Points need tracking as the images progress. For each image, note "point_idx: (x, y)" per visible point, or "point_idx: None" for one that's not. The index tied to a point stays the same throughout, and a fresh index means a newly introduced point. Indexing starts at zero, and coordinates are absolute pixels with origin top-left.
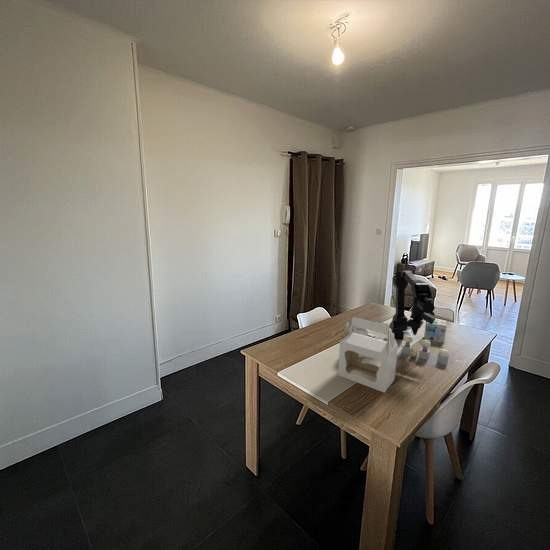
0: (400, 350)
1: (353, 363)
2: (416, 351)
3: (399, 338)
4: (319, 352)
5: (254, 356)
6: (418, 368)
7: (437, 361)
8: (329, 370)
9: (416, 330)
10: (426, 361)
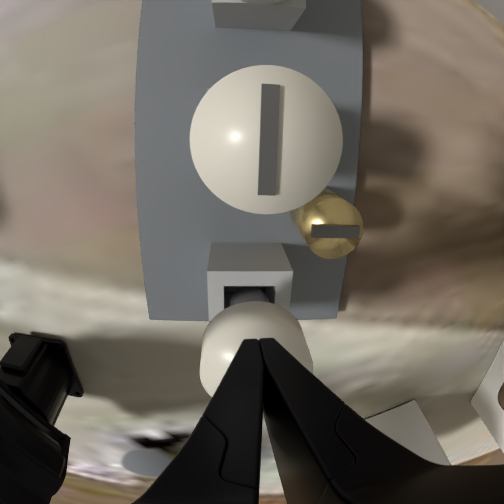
0: None
1: (481, 399)
2: (338, 208)
3: (51, 361)
4: None
5: None
6: (422, 152)
7: (293, 25)
8: None
9: (339, 411)
10: None
